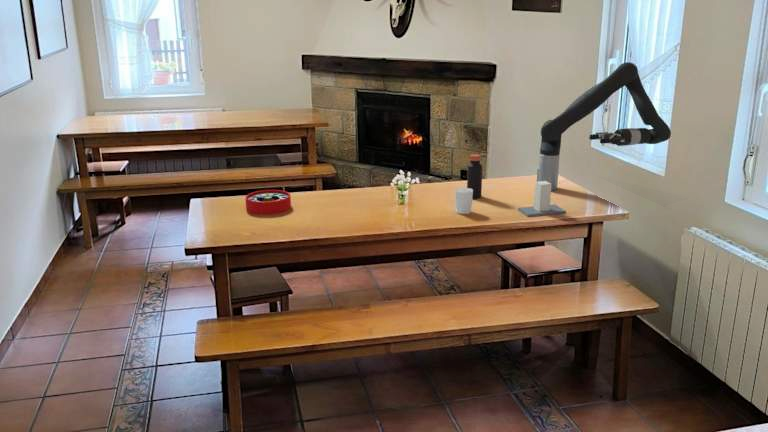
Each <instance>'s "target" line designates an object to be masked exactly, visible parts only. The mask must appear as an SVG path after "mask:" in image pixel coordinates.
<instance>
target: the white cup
mask: <svg viewBox="0 0 768 432" xmlns="http://www.w3.org/2000/svg"><path fill="white" fill-rule="evenodd" d="M454 205H455V213H456V214H460V215H468V214H470V213H472V206H473V190H472V189H470V188H467V187H458V188H455V189H454Z"/></svg>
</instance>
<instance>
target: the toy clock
mask: <svg viewBox="0 0 768 432" xmlns="http://www.w3.org/2000/svg"><path fill="white" fill-rule="evenodd" d="M291 200H292V199H291V193H290V192H288V191H285V190H279V189H265V190H256V191H253V192H250V193H248V194H247V195H246V196H245V209H246V212H247V213H250V214H253V213H254V214H253V215H260V214H269V215H277V214H282V213H284V212H287V211H289V210H290V209H291V208H292V201H291Z"/></svg>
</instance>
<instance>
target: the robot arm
mask: <svg viewBox="0 0 768 432" xmlns="http://www.w3.org/2000/svg"><path fill="white" fill-rule="evenodd" d="M624 87H625V88H626V89H627V90H628V93H629V94H630V97H631V98H632V100H633V104H634V105H635V108H636V109H635V110H637V111H636V112H637V113H638V114H639V115H638V116H639V117H640V118H641V120H642V123H643V124H644V125H645V126H651V128H649V129H648V128H646V127H637V128H633V127H632V128H630V127H628V128H618V129H616V130H615V131H614V132H608V131H606V132H605V131H603V132H595V133H592V134H589V138H588V140H591V141H593V140H597V141H598V140H599V143H600V144H611V145H616V146H617V147H622V146H623V147H624V146H635V145H642V144H648V145H655V144H656V145H657V144H661V143H663V142H666V141H669V139H670V138H671V135H672V131H671V129H670V126H669V125H668V124H667V123H666V122H665V120H664V119H663V118H662V117H661V116H659V113H658V112H657V109H656V108H655V106H654V104H653V102H652V101H651V99H650V97H649V95H648V94H647V92H646V90H645V88H644V86H643V84H642V81H641V78H640V74H639V69H638V66H637V65H636V64H635V63H632V62H630V61H628V62H626V61H625V62H622V63H621V64H620V65H619V66H617V68H616V69H614V71H613V72H611V73H610V74H609V75H608V76H607V77H606V78H605V79H603V80H602V81H601V82H599V83H596V84H595V85H594V86H592V87H590V88H589V89H588V90H586V91H585V92H584V93H582V94H581V95H580V96H578V97H577V98H576V99H575V100H573V101H572V102H571V103H570V104H569V106H567V108H565V110H564V111H563V112H561V113H560V114H559V115H557V116H556V117H554V118H553V119H548V120H547V121H545V122H544V123H543V124H542V126H541V129H540V136H541V142H540V149H539V163H538V168H537V172H536V182H540V181H547V182H549V183H551V191H556V190H557V189H558V183H559V171H560V170H559V169H560V167H559V166H560V155H561V146H562V135H563V134H564V133H565V132H566V131H567V130H568V129H570V128H571V127H572V126H573V125H575V124H576V123H578V122H580V121H581V120H582V119H584V118H585V117H588V115H590V114H592V113H593V112H594V111H595V110H596V109H598V108H599V107H600V106H602V105H603V104H604V103H605V102H606V101H607V100H608V99H609V98H610V97H612V95H613V94H614V93H616V92H617V91H619V90H621V89H622V88H624Z"/></svg>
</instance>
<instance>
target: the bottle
mask: <svg viewBox="0 0 768 432" xmlns="http://www.w3.org/2000/svg"><path fill="white" fill-rule="evenodd" d="M481 159H482V158H481V154H477V153H475V154H474V153H473V154H472V153H471V154H470V155H469V161H470V163H469V164H468V165H467V170H466V171H467V172H466V173H467V175H466V176H467V178H466V179H467V180H466V188H470V189H472V190H473V198H472V200H473V199H480V198H482V188H483V187H482V186H483V185H482V184H483V165H482V163H481Z"/></svg>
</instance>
